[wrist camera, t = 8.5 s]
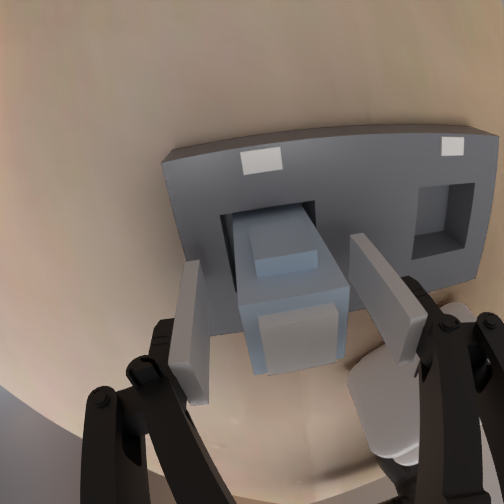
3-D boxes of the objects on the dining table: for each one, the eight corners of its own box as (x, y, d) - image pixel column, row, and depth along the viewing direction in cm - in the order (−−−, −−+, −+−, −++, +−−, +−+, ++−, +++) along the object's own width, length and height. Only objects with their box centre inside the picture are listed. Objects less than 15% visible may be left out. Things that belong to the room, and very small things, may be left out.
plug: (298, 248, 21) (348, 367, 12) (241, 257, 21) (255, 385, 12) (292, 181, 19) (356, 277, 10) (229, 191, 19) (235, 299, 10)
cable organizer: (459, 285, 26) (524, 364, 16) (469, 335, 30) (514, 401, 20) (339, 366, 29) (373, 463, 19) (372, 399, 34) (400, 474, 24)
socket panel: (453, 257, 24) (476, 279, 21) (210, 304, 24) (209, 337, 20) (468, 126, 18) (500, 136, 15) (172, 150, 18) (160, 163, 15)
